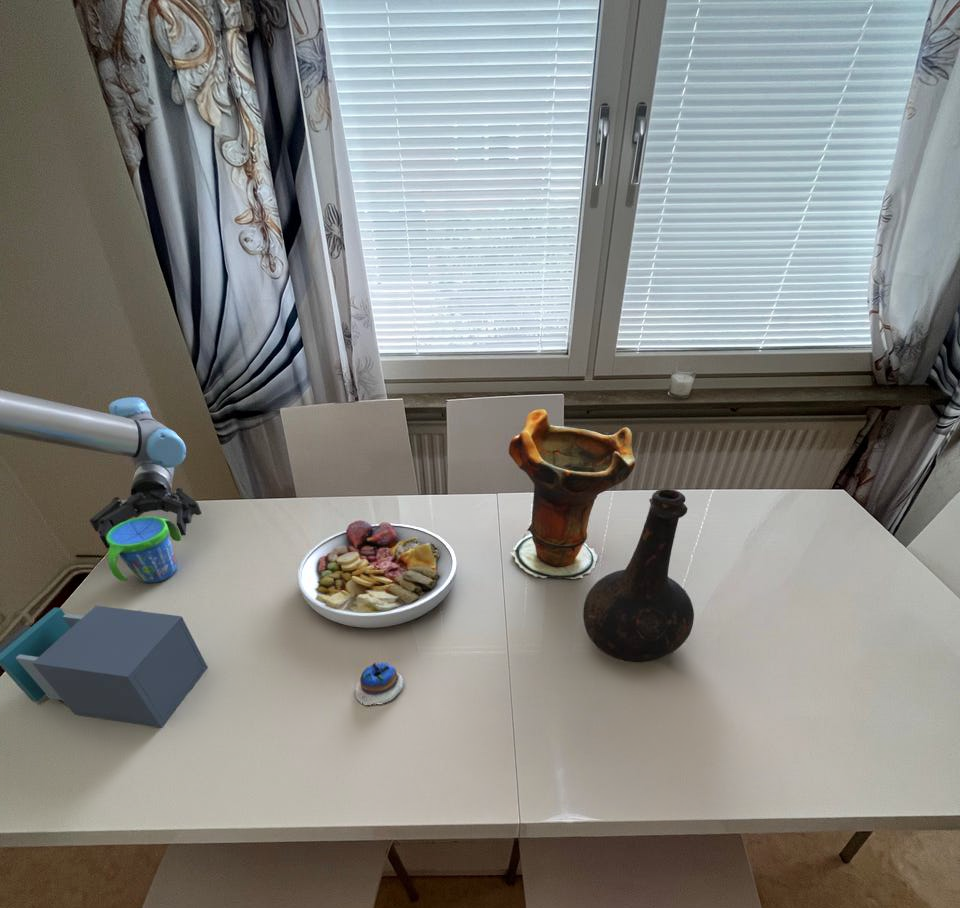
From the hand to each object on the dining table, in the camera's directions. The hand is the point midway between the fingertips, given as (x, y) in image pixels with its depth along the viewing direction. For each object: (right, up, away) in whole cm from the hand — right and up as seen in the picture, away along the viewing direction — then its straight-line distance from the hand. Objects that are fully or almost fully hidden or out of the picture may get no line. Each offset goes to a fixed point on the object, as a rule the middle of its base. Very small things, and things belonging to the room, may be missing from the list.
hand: (143, 535), depth 105 cm
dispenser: (+12, -29, -20) cm, 37 cm away
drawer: (+1, -27, -19) cm, 32 cm away
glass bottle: (+93, -21, -11) cm, 96 cm away
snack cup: (+1, -7, +4) cm, 8 cm away
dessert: (+50, -28, -19) cm, 61 cm away
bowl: (+47, -10, +1) cm, 48 cm away
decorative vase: (+83, -3, +8) cm, 83 cm away
